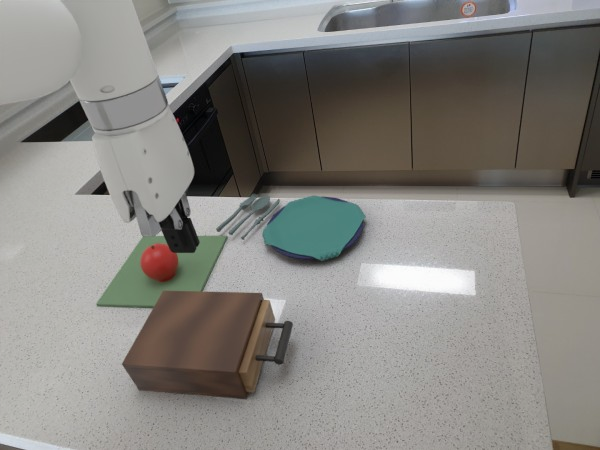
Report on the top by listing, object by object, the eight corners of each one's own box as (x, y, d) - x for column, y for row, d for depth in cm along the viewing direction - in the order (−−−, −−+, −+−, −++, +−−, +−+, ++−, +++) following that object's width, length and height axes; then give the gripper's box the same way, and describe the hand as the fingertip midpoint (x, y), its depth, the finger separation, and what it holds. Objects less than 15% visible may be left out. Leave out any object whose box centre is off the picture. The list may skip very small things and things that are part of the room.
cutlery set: (336, 277, 82) (335, 267, 81) (209, 239, 97) (206, 230, 95) (380, 214, 95) (379, 205, 94) (261, 188, 109) (260, 180, 108)
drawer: (300, 320, 75) (295, 300, 72) (282, 394, 65) (275, 374, 62) (184, 316, 80) (175, 296, 77) (151, 384, 70) (139, 365, 67)
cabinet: (270, 320, 77) (262, 292, 73) (246, 399, 66) (235, 372, 62) (175, 316, 81) (163, 290, 77) (138, 390, 70) (121, 364, 66)
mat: (193, 309, 82) (192, 307, 82) (97, 306, 87) (95, 303, 87) (227, 237, 97) (227, 235, 97) (144, 238, 102) (143, 236, 102)
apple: (174, 288, 86) (161, 258, 82) (141, 287, 88) (126, 258, 84) (188, 262, 92) (176, 233, 87) (157, 262, 94) (143, 233, 89)
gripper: (128, 78, 51) (181, 211, 62) (46, 144, 39) (129, 293, 50) (190, 71, 49) (233, 210, 60) (123, 139, 37) (191, 295, 48)
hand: (185, 248), depth 55 cm, fingers closed
